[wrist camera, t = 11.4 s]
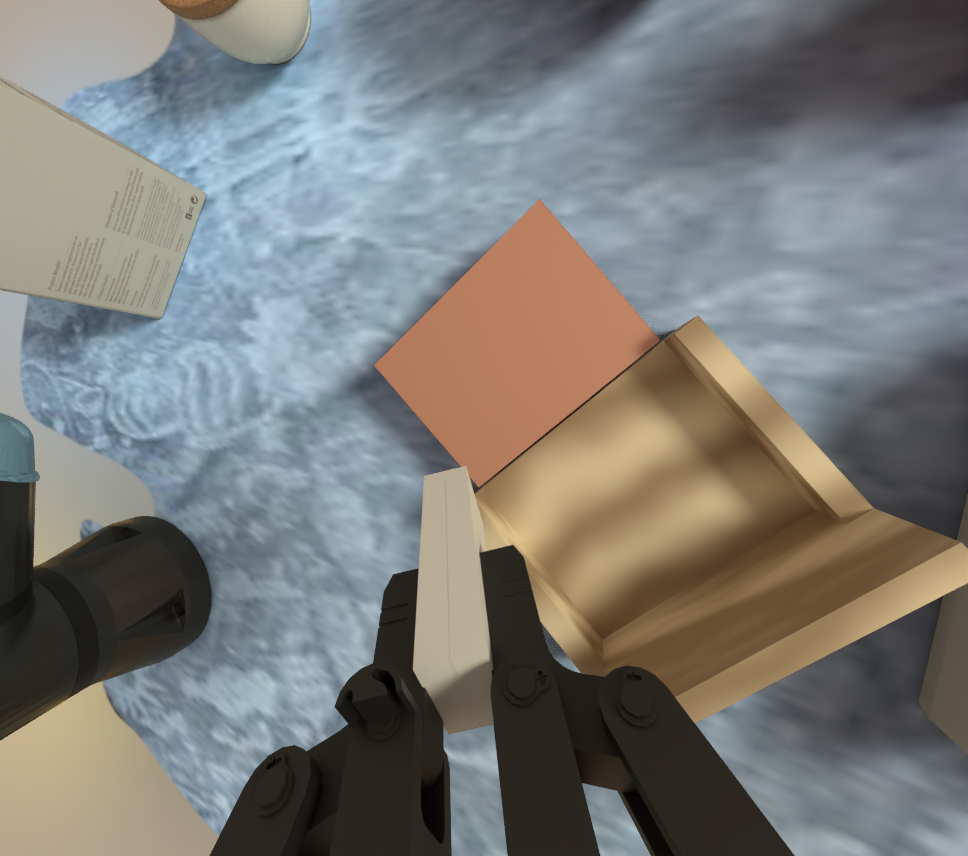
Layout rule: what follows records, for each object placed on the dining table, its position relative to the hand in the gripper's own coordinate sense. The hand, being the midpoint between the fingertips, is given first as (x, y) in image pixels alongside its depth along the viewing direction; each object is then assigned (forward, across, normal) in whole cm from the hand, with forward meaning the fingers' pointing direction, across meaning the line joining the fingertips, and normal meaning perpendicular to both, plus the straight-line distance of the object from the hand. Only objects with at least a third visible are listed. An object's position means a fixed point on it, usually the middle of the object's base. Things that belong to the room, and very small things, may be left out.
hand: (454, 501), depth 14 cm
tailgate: (+13, +7, -6) cm, 16 cm away
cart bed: (+11, +11, -12) cm, 20 cm away
